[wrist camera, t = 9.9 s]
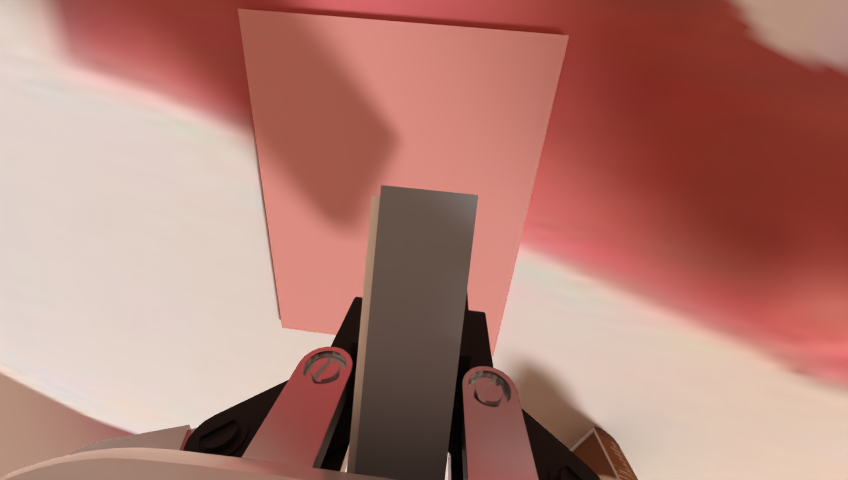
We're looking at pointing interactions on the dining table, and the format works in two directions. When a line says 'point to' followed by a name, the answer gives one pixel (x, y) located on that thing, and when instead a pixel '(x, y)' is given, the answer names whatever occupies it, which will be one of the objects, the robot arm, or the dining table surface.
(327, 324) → the mat
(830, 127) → the dining table surface
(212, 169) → the dining table surface
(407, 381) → the grey square slab
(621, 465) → the half round cake
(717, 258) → the dining table surface
